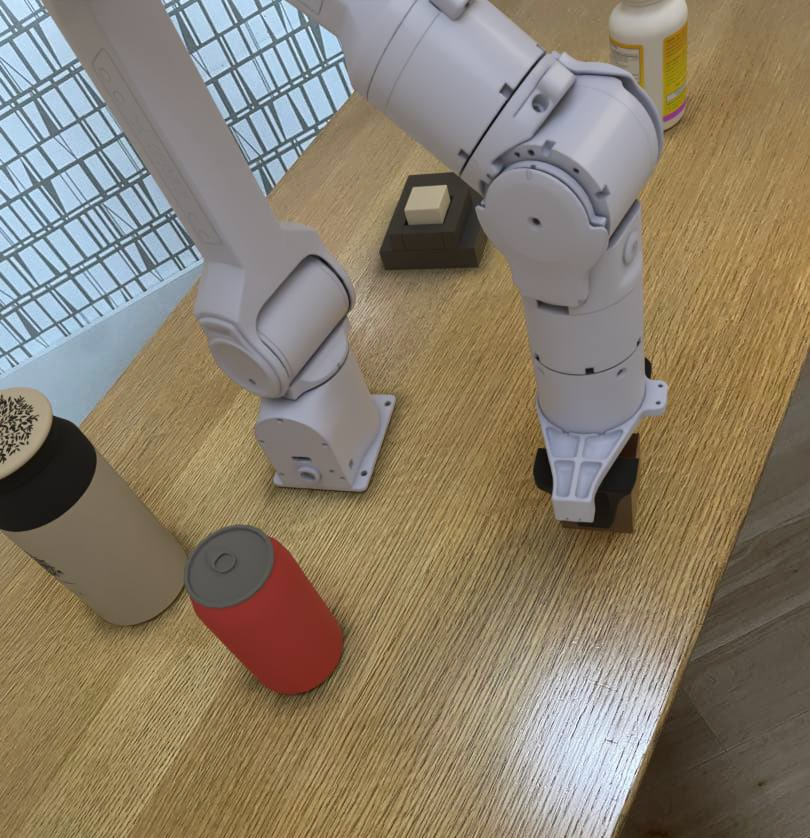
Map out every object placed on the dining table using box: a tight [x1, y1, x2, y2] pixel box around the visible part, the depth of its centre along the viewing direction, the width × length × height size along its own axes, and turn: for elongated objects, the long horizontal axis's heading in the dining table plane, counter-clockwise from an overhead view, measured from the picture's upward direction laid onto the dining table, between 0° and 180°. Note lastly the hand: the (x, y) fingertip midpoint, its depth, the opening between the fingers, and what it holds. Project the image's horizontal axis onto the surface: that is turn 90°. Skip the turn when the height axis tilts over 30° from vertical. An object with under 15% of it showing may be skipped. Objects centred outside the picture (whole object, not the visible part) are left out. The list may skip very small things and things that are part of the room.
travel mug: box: [0, 386, 188, 626], centre depth 57 cm, size 8×8×18 cm
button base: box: [378, 171, 489, 271], centre depth 77 cm, size 11×9×4 cm
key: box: [404, 185, 450, 225], centre depth 74 cm, size 3×3×2 cm
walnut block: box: [560, 432, 642, 535], centre depth 53 cm, size 4×4×4 cm
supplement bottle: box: [608, 0, 689, 132], centre depth 75 cm, size 7×7×13 cm
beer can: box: [183, 523, 344, 695], centre depth 53 cm, size 7×7×12 cm
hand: (600, 490), depth 53 cm, fingers closed on walnut block, 4 cm apart
